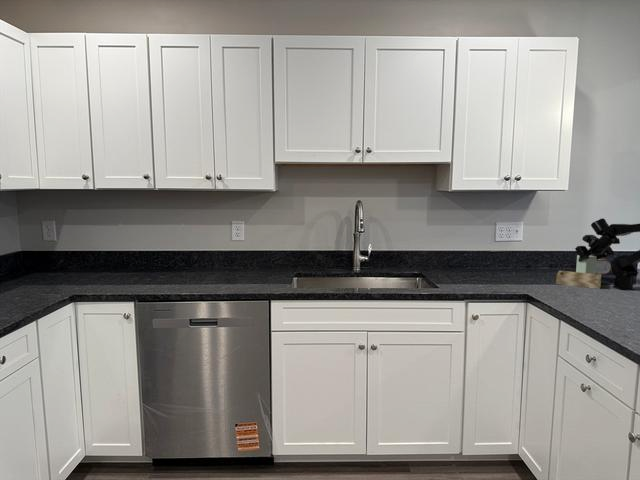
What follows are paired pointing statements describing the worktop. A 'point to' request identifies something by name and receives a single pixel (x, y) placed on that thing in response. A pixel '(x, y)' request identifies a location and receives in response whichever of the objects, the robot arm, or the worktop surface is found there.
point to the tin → (602, 266)
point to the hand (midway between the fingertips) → (584, 260)
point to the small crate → (586, 265)
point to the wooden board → (578, 279)
